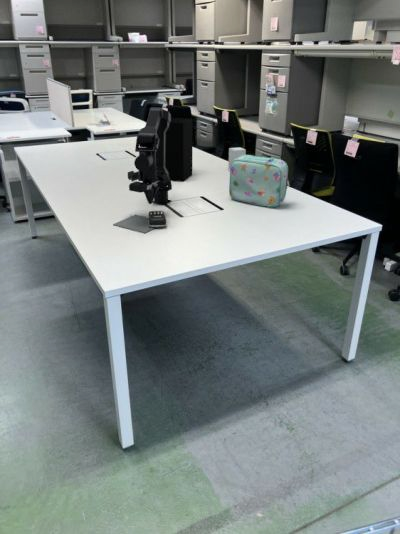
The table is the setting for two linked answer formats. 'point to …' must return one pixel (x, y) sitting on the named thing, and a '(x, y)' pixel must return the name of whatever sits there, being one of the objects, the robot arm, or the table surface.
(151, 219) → the battery charger
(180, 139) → the video game console
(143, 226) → the mat
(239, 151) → the supplement box
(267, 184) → the lunch box
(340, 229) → the table surface
